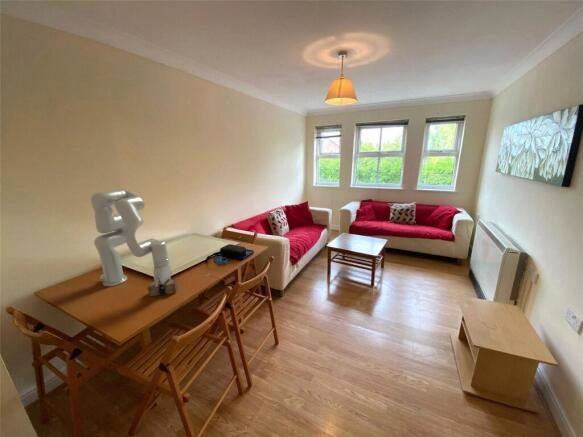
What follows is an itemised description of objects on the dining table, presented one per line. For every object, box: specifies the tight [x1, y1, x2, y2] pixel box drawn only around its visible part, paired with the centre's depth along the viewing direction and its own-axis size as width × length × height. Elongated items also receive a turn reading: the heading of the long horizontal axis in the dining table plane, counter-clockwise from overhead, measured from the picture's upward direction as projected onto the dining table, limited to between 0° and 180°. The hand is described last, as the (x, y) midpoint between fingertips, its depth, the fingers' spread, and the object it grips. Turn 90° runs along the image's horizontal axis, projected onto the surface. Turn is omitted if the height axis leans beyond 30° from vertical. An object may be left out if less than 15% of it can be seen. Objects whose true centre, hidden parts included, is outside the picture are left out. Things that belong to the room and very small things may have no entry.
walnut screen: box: [147, 278, 179, 297], centre depth 139 cm, size 14×5×6 cm, turn 104°
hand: (165, 290), depth 140 cm, fingers closed on walnut screen, 6 cm apart
